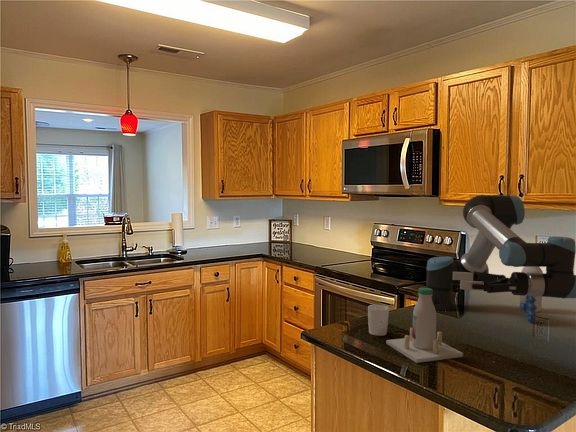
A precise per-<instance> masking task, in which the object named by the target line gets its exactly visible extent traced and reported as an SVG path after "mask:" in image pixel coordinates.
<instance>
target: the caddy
mask: <svg viewBox="0 0 576 432" xmlns="http://www.w3.org/2000/svg"><path fill="white" fill-rule="evenodd" d="M385 343H386V345H388V346H389V347H390V348H393V349H394V350H395V351H397V352H398V353H400V354H402V355H403V356H405V357H407V358H408V359H410V360H411V361H413V362H414V363H416V364H419V363H425V362H433V361H434V362H435V361H441V360H447V359H448V360H449V359H457V358H462V357H463V358H464V353H463V352H462V351H460V350H458V349H456V348H454V347H452V346H451V345H448V344H446V343H444V342H443V332H442V331H436V340H433V349H429V350H426V349H419V348H416V347H414V346H413V345H412V327H409V335H408V334H405V335H404V337H403V338H394V339H393V338H392V339H387V340H386V341H385Z"/></svg>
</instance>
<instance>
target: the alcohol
mask: <svg viewBox="0 0 576 432" xmlns="http://www.w3.org/2000/svg"><path fill="white" fill-rule="evenodd" d="M543 271H544V270H543V269H542V267H522V270H521V272H524V273H527V272H529V273H544V272H543ZM526 297H527V295H525V296H521V295H519V306H520V305H521V304H522V303H525V301H526V300H527V299H526ZM535 299H536V301H535V302H534V305H535V306H536V307H537V309H536V310H535V311H534V313H539V312H541V310H542V305H543V302H542V301H543V297H541V296H537V297H536V298H535ZM523 311H524V312H525V310H523Z"/></svg>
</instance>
